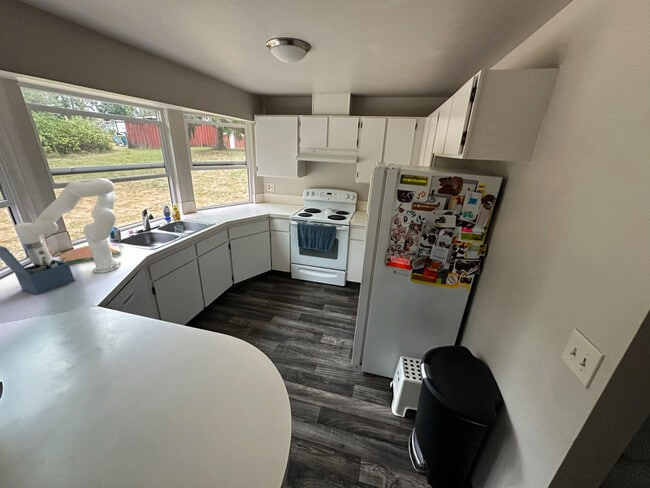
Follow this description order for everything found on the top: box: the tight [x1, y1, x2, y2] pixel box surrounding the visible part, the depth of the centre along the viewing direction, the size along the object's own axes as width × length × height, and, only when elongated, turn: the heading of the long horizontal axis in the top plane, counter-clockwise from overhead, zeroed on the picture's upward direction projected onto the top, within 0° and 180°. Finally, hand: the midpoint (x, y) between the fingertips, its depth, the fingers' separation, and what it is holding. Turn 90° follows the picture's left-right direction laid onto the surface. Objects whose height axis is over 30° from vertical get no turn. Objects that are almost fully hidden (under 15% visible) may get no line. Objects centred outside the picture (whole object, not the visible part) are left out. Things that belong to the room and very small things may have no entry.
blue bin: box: [13, 259, 76, 295], centre depth 144 cm, size 17×15×12 cm
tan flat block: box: [58, 243, 121, 266], centre depth 184 cm, size 23×33×8 cm
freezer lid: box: [0, 245, 30, 275], centre depth 128 cm, size 17×15×5 cm
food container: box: [27, 263, 58, 274], centre depth 143 cm, size 12×6×10 cm, turn 138°
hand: (45, 273), depth 144 cm, fingers closed on food container, 7 cm apart
